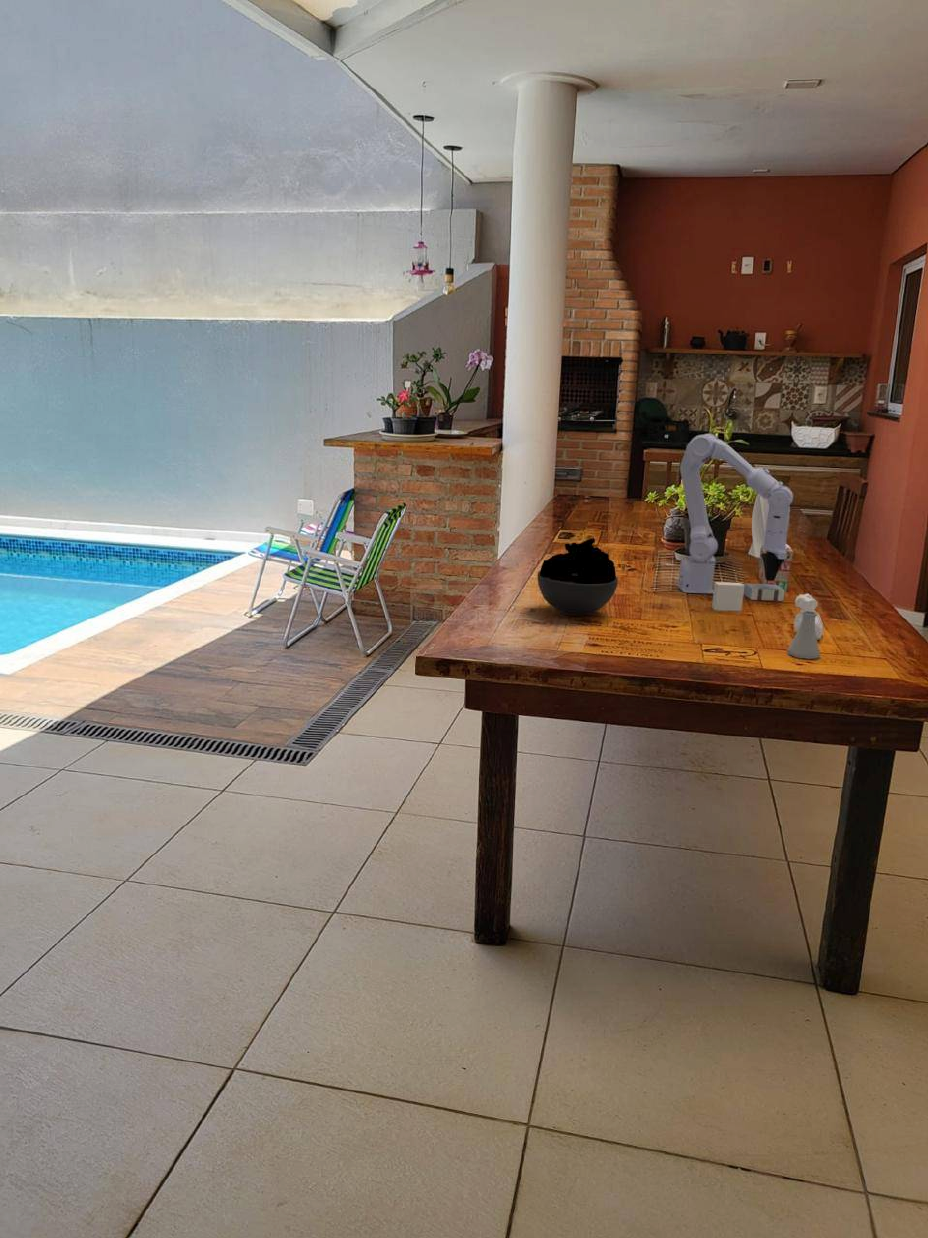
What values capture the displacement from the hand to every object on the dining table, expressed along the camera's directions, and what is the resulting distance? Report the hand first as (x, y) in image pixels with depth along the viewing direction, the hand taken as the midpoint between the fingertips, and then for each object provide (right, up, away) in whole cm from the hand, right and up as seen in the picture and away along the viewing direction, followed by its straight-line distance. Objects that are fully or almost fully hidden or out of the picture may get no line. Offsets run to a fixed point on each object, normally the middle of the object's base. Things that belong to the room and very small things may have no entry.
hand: (769, 579), depth 259 cm
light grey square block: (-15, -8, -11) cm, 20 cm away
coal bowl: (-57, -10, -23) cm, 62 cm away
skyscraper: (+18, +10, +66) cm, 69 cm away
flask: (-9, -19, -49) cm, 54 cm away
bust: (-2, -15, -33) cm, 36 cm away
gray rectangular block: (0, -4, +1) cm, 4 cm away
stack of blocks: (+9, 0, +24) cm, 26 cm away
